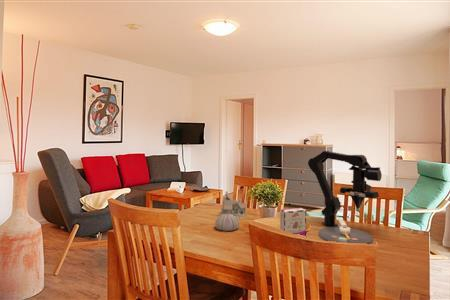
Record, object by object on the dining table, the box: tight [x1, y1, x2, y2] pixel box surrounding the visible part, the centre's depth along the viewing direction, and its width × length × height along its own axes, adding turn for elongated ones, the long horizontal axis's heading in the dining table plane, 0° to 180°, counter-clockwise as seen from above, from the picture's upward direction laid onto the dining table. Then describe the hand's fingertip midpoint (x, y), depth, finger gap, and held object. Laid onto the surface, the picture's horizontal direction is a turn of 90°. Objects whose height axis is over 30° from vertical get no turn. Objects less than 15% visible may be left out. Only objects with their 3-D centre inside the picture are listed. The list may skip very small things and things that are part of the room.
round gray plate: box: [318, 226, 373, 245], centre depth 154 cm, size 25×25×2 cm
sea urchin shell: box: [214, 213, 240, 232], centre depth 168 cm, size 13×14×8 cm
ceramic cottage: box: [219, 191, 247, 219], centre depth 193 cm, size 16×16×15 cm
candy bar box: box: [279, 207, 307, 237], centre depth 143 cm, size 11×5×16 cm, turn 105°
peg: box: [337, 218, 351, 240], centre depth 155 cm, size 22×5×4 cm, turn 169°
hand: (358, 208), depth 163 cm, fingers closed
